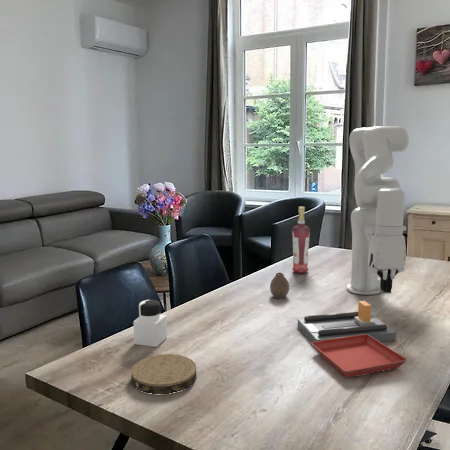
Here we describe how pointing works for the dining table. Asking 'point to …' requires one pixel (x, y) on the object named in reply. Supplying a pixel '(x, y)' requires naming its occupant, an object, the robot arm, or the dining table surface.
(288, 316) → the dining table surface
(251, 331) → the dining table surface
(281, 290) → the vase
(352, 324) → the switch panel
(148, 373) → the round wood slice
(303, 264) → the liquor
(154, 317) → the medicine bottle
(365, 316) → the breaker lever
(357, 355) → the plant saucer
